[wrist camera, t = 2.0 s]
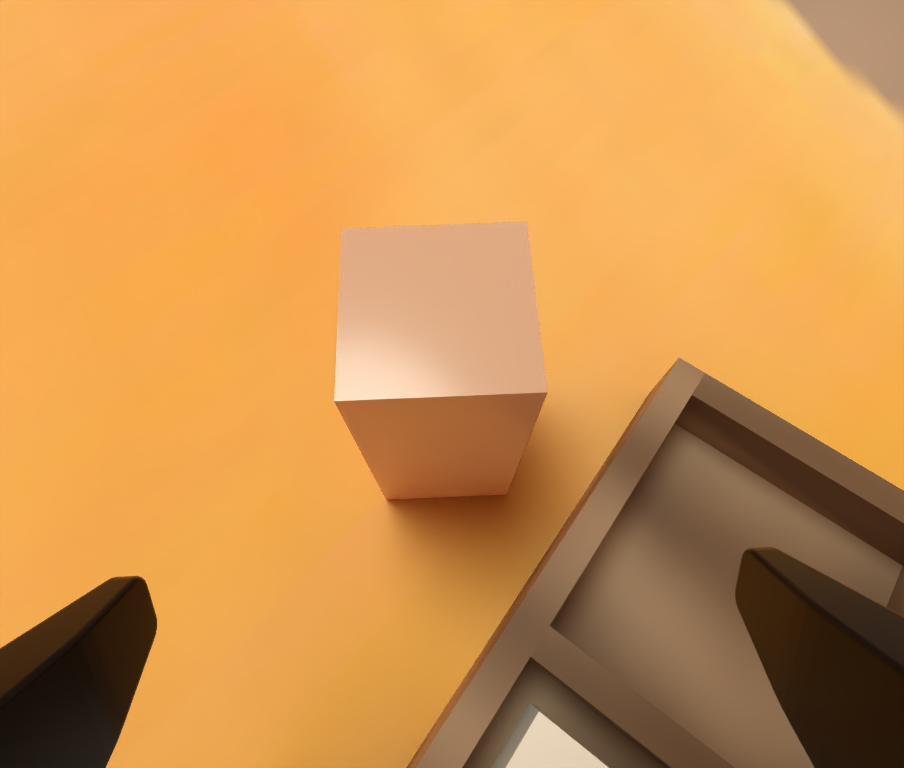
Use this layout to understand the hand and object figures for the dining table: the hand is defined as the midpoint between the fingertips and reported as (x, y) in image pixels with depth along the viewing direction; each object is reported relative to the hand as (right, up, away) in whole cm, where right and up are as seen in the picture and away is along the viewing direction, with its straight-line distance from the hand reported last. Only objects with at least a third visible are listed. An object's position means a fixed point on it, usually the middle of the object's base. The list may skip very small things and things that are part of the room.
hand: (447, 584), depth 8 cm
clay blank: (0, +1, +13) cm, 13 cm away
